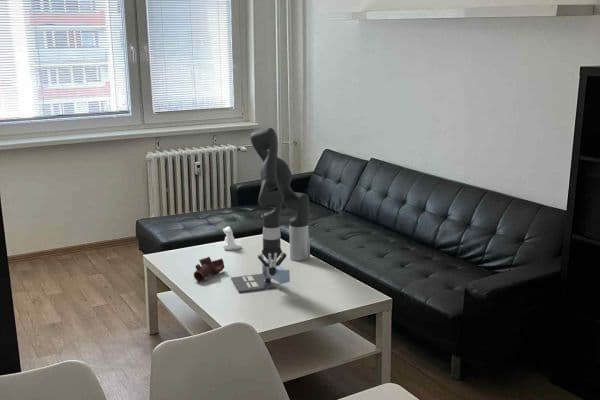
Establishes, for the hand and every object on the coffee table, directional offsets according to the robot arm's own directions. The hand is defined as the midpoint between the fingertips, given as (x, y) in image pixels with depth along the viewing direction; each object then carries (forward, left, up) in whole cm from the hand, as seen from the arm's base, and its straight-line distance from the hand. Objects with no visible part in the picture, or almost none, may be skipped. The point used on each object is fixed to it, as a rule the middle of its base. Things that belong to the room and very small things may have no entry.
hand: (272, 275), depth 299 cm
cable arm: (-2, -5, -3) cm, 7 cm away
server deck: (+6, -11, -7) cm, 15 cm away
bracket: (+23, -28, -8) cm, 37 cm away
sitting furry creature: (+5, -66, -8) cm, 67 cm away
